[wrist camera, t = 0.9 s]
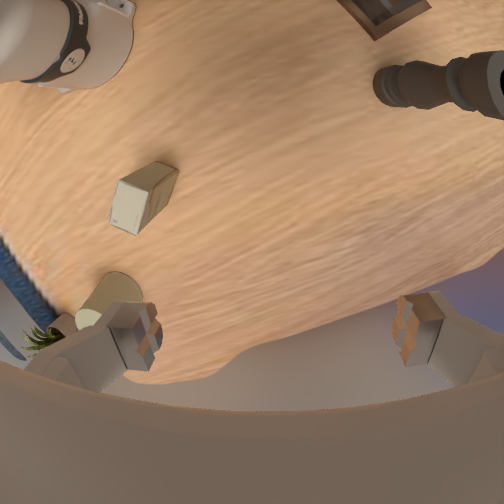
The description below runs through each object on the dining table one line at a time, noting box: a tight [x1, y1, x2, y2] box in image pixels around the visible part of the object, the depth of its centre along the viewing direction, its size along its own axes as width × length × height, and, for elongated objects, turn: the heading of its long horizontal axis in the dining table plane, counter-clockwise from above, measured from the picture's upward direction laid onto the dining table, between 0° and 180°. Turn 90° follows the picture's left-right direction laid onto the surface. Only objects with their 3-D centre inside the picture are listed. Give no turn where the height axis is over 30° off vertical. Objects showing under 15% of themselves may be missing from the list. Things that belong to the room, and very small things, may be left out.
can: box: [75, 272, 142, 330], centre depth 48 cm, size 9×9×12 cm
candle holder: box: [373, 50, 504, 120], centre depth 22 cm, size 6×6×25 cm
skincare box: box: [108, 161, 179, 236], centre depth 37 cm, size 6×4×12 cm
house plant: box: [22, 313, 78, 357], centre depth 52 cm, size 14×14×16 cm
